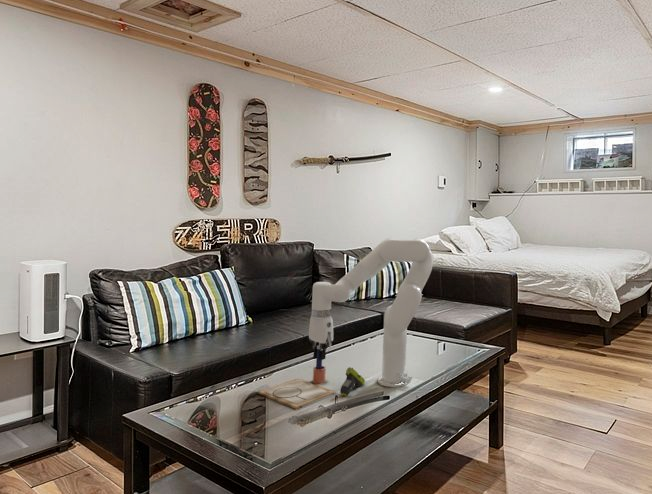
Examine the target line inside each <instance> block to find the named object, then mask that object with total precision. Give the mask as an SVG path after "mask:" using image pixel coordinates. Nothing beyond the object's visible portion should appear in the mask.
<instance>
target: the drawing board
mask: <svg viewBox="0 0 652 494" xmlns="http://www.w3.org/2000/svg"><path fill="white" fill-rule="evenodd" d="M258 394H259V395H261V396H264V397H266V398H268V399H271V400H273V401H275V402H277V403H280V404H282V405H285V406H287V407H290V408H293V409H294V410H297V409H301V408H303V406H305V405H308V404H309V403H312V402H316V401H318V400H320V399H323V398H325V397H328V396H331V395H333V394H336V391H334V390H331V389H328V388H325V387H322V386H319V385H318V384H315V383H311V382H308V381H306V380H303V379H300V378H296V379H293V380H290V381H287V382H284V383H280V384H278V385H277V384H276V385H274V386H271V387H268V388H265V389H262V390H259V391H258Z"/></svg>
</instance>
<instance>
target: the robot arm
mask: <svg viewBox="0 0 652 494" xmlns="http://www.w3.org/2000/svg"><path fill="white" fill-rule="evenodd" d="M391 262H395V263H396V262H398V263H399V262H400V263H405V262H406V263H411V265H410V268H409V270H408V272H407V274H406V275H405V277H404V279H403V281H402V282H401V284H400V286H399V287H398V289H397V292H396V293H397V294H396V297H395V299H394V301H393V302H392V304H391V305H389V306H388V307H386V309H385V311H384V314H383V335H382V336H383V339H382V361H381V362H382V364H381V366H382V367H381V375H380V376H379V377H378V378H377V382H378V384H379V385H380V386H383V387H387V388H398V387H399V388H401V387H404V386H407V385H408V384H410V383H411V381H412V380H413V376H409V373H408V371H407V370H406V369H407V368H406V367H407V344H408V343H407V342H408V327H409V325H410V323H411V322H412V320H413V318H414V316H415V314H416V313H417V311H418V309H419V307H420V305H421V303H422V298H423V295H422V292H423V289H424V287H425V286H426V283H427V282H428V280H429V278H430V275H431V273H432V270H433V266H434V265H433V264H434V259H433V253H432V251H431V249H430V245H429V244H428V243H427V241H425V240H424V239H422V238H420V237H419V238H414V239H410V240H408V239H405V240H403V239H394V238H392V237H391V238H390V237H388V238H385V239H384V240H382V241H381V242H380V243H379V244H378V245H376V247H375V248H373V249H372V250H371V251H369V253H368V254H366V255H365V256H364V257H362V259H361V260H360V261H358V262H357V264H356V265H354V267H353V268H351V269H350V270H349V271H347V273H345V275H344V276H342V277H341V278H340V279H339V280H338V281H337V282H335V284H334V283H331V282H328V281H316V282H314V283H313V285H312V294H311V295H312V296H311V297H312V298H311V299H312V301H311V316H310V319H309V326H308V342H310V343H311V345H312V349H313V354H312V355H313V357H312V358H313V360H316V359H317V346H318V345H320V350H319V353H318V360H319V361H320V360H322V361H324V360H326V355H327V354H326V353H327V349H328V348H329V347H331V346H332V345H333V344H332V342H333V341H334V321H333V317H332V302H334V303H345V302H347V301H348V300H349V299H350V297H351V294H353V292H354V291H356V290H357V289H358V288H359V287H360V286H362V285H363V284H364V283H365V282H366V281H368V280H371V279H372V278H374V277H376V276H377V275H378V274H380V273H381V271H382V270H384V269H385V268H386V267H387V266H388V265H389V264H390V263H391ZM401 382H403V383H404V384H401V385H395V384H399V383H401Z"/></svg>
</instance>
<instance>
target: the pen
mask: <svg viewBox="0 0 652 494" xmlns="http://www.w3.org/2000/svg"><path fill="white" fill-rule="evenodd" d="M319 350H320V345H318V346H317V359H315V361H316V362H315V364H316V365H315V367H316V369H322V366H323V360H320V361H319V360H318V353H319Z"/></svg>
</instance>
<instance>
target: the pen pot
mask: <svg viewBox="0 0 652 494" xmlns="http://www.w3.org/2000/svg"><path fill="white" fill-rule="evenodd" d="M326 373H327V367H326V366H325V365H322V369H316V366H313V368H312V383H313V384H324V383H325V382H326Z"/></svg>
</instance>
